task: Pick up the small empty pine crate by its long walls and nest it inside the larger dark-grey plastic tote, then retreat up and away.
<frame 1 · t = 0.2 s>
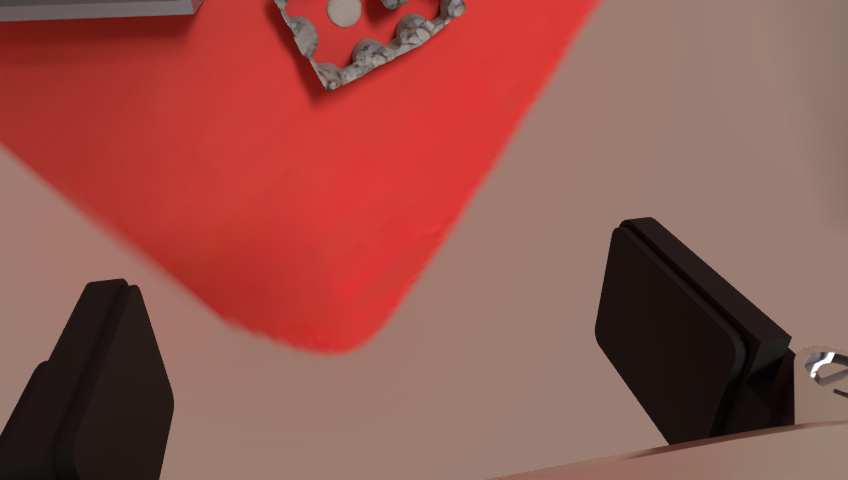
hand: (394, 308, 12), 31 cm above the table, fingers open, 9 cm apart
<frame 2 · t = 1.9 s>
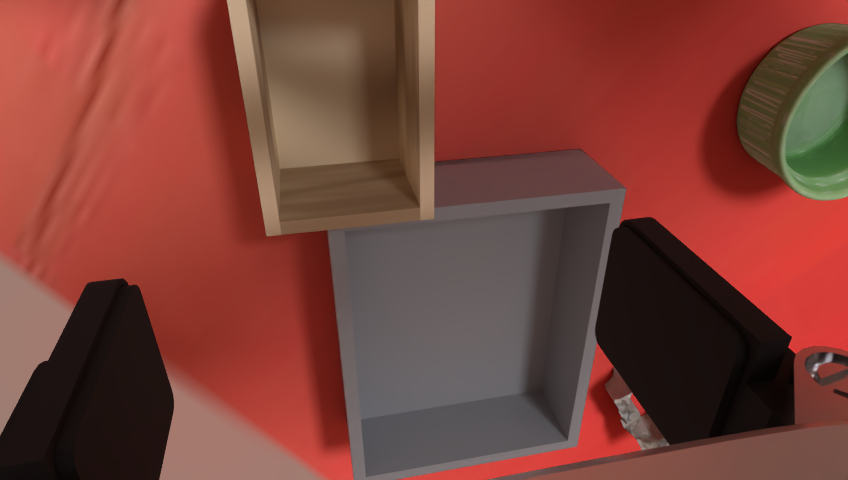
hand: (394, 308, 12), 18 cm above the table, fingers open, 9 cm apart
grey tote: (452, 298, 35), on the table
pine crate: (331, 70, 27), on the table
egg carton: (670, 362, 43), on the table
ramekin: (795, 94, 33), on the table
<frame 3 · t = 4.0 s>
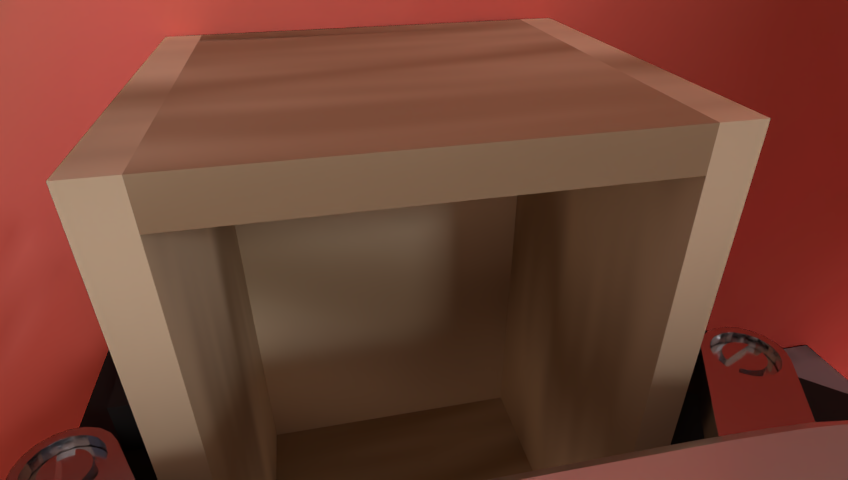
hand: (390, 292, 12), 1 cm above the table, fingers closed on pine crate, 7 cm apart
pine crate: (381, 258, 13), on the table, touching grey tote, gripper
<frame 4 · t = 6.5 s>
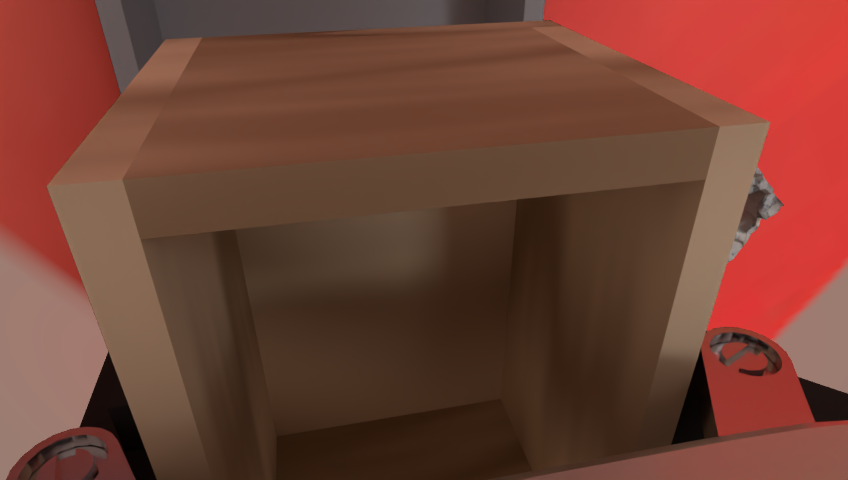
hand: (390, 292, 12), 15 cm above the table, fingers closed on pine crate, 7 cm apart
grey tote: (335, 86, 25), on the table
pine crate: (381, 260, 13), point 14 cm above the table, touching gripper
egg carton: (644, 216, 32), on the table
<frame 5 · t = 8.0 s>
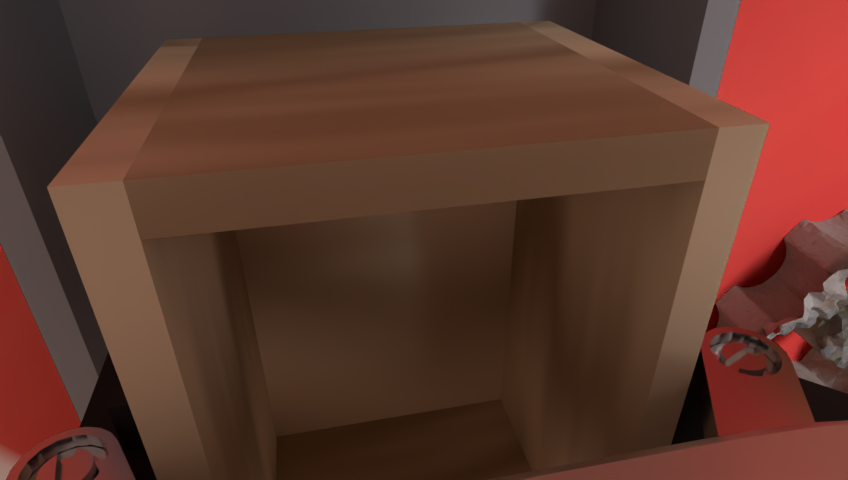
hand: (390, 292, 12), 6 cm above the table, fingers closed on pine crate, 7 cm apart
grey tote: (361, 175, 17), on the table
pine crate: (381, 260, 13), point 4 cm above the table, touching gripper
egg carton: (759, 318, 24), on the table
when the fingers open (5 cm above the table, at t = 9.2 s): pine crate drops 3 cm, resting on grey tote.
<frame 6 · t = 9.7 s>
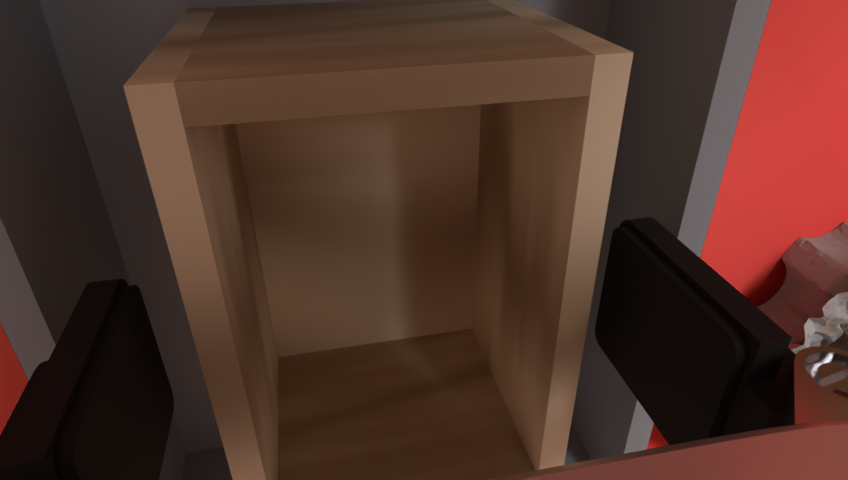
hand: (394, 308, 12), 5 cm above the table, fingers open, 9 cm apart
grey tote: (362, 193, 16), on the table
pine crate: (366, 201, 15), point 1 cm above the table, touching grey tote
egg carton: (768, 334, 23), on the table
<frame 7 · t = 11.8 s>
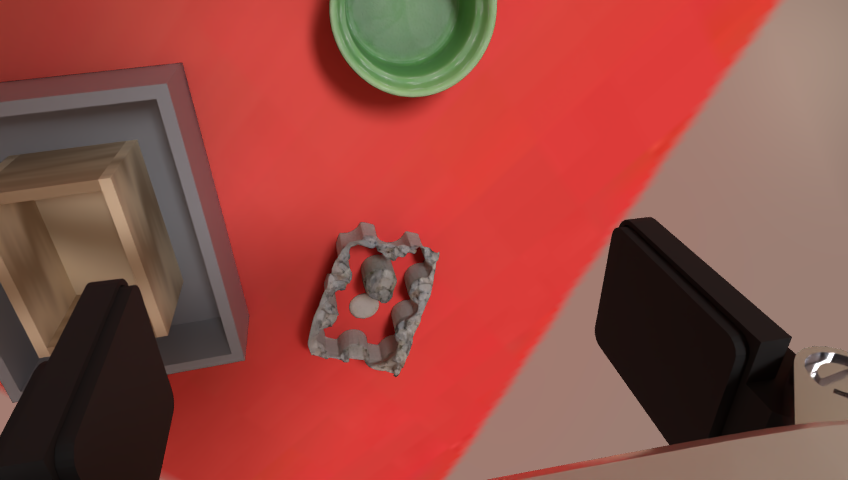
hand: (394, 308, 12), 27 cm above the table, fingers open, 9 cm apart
grey tote: (105, 220, 37), on the table
pine crate: (103, 223, 36), point 1 cm above the table, touching grey tote
egg carton: (367, 283, 43), on the table
ramekin: (401, 2, 34), on the table
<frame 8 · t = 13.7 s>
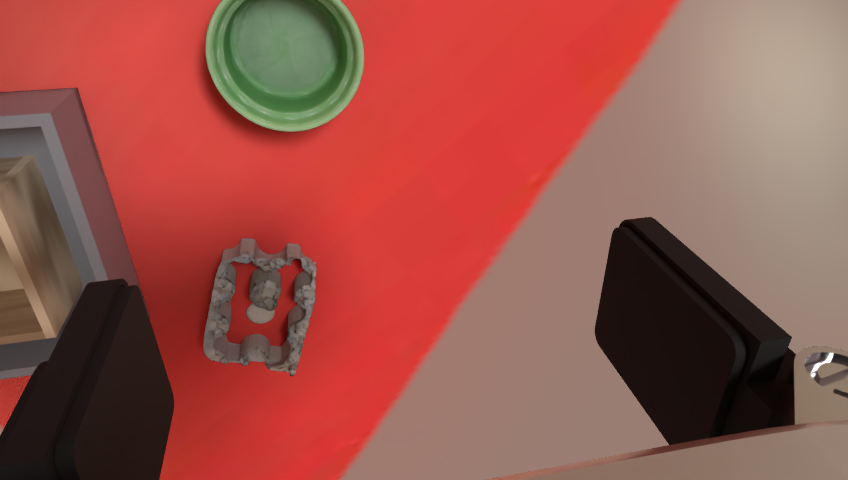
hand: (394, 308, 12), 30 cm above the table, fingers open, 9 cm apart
grey tote: (7, 226, 39), on the table
pine crate: (3, 229, 39), point 1 cm above the table, touching grey tote
egg carton: (261, 292, 47), on the table
ramekin: (286, 41, 38), on the table
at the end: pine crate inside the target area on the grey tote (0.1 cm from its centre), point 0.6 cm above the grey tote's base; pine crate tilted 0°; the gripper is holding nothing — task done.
